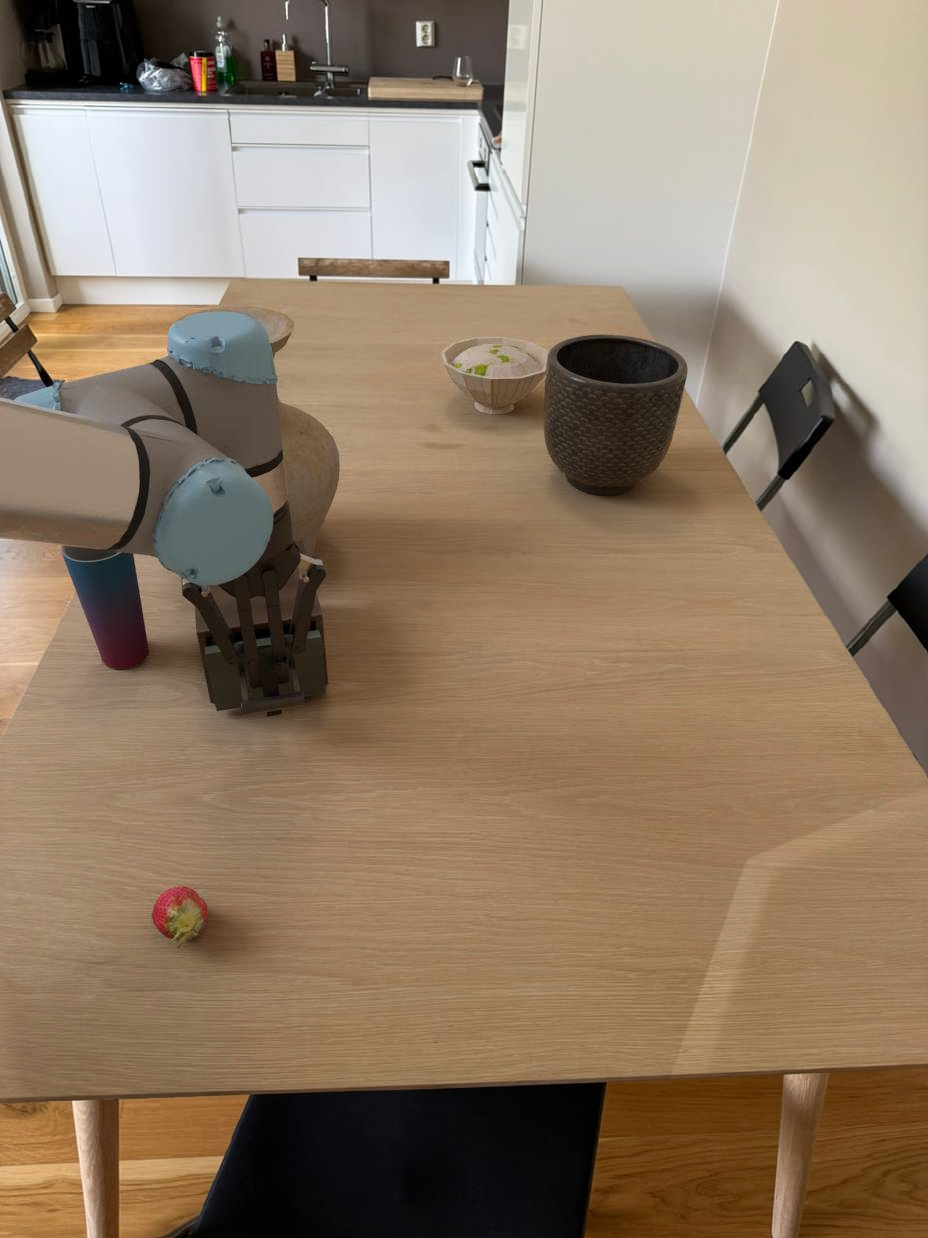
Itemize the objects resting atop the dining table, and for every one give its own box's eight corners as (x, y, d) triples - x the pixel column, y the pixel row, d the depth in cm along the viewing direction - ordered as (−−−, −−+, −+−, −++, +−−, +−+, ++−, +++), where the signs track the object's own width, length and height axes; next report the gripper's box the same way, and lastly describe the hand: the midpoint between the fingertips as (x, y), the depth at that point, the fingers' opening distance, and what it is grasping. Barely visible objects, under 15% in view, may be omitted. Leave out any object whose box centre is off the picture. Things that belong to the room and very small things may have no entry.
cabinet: (328, 683, 98) (322, 614, 92) (210, 703, 95) (196, 632, 89) (309, 606, 109) (302, 539, 103) (203, 621, 106) (190, 553, 100)
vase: (249, 493, 130) (221, 283, 111) (376, 535, 122) (368, 316, 103) (140, 566, 114) (86, 336, 96) (277, 619, 106) (246, 380, 88)
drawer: (335, 733, 90) (330, 676, 86) (220, 754, 88) (208, 695, 83) (308, 618, 105) (302, 563, 100) (209, 632, 103) (198, 577, 98)
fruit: (198, 887, 77) (188, 851, 73) (219, 942, 72) (210, 906, 69) (148, 908, 75) (136, 871, 72) (167, 965, 71) (155, 929, 68)
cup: (131, 629, 104) (102, 519, 95) (170, 651, 101) (144, 540, 92) (81, 659, 100) (46, 546, 91) (120, 683, 97) (88, 569, 88)
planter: (577, 523, 126) (592, 396, 114) (514, 461, 140) (522, 343, 128) (691, 497, 133) (717, 374, 121) (621, 441, 147) (638, 326, 135)
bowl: (431, 424, 150) (431, 367, 143) (448, 379, 165) (449, 326, 159) (545, 434, 148) (550, 376, 142) (552, 388, 163) (557, 334, 157)
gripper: (314, 473, 80) (331, 672, 94) (162, 490, 77) (204, 693, 91) (327, 516, 74) (343, 720, 88) (165, 536, 71) (208, 744, 85)
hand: (272, 706), depth 90 cm, fingers closed
